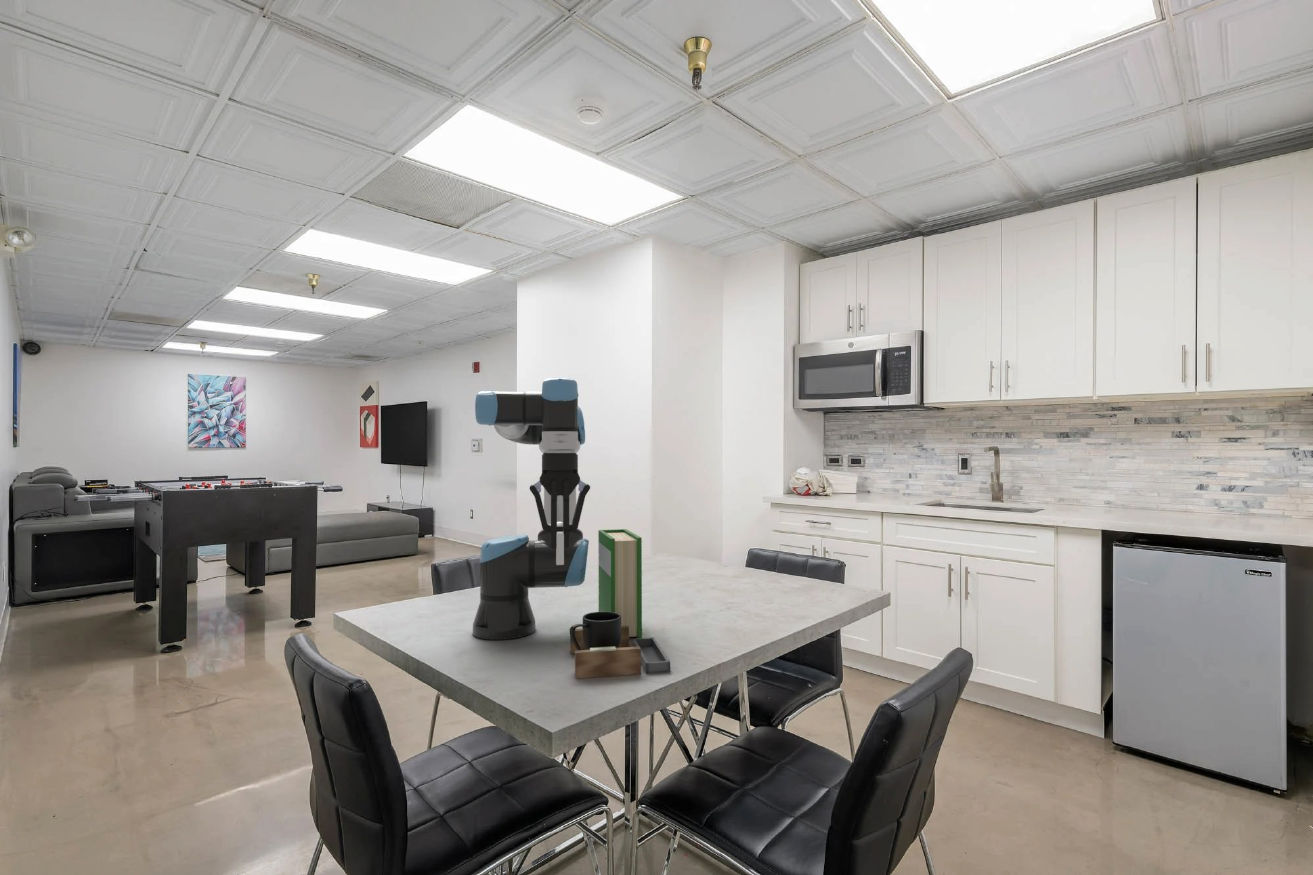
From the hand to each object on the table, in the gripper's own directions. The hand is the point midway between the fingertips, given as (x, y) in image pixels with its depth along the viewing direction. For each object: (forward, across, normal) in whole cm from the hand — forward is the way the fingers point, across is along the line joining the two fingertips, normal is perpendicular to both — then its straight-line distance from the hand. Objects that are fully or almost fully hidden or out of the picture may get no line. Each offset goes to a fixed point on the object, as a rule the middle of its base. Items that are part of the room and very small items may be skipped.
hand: (559, 563), depth 132 cm
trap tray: (+21, +19, -2) cm, 28 cm away
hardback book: (+22, +16, +21) cm, 34 cm away
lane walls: (+21, +9, -2) cm, 23 cm away
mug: (+21, +7, -2) cm, 22 cm away
